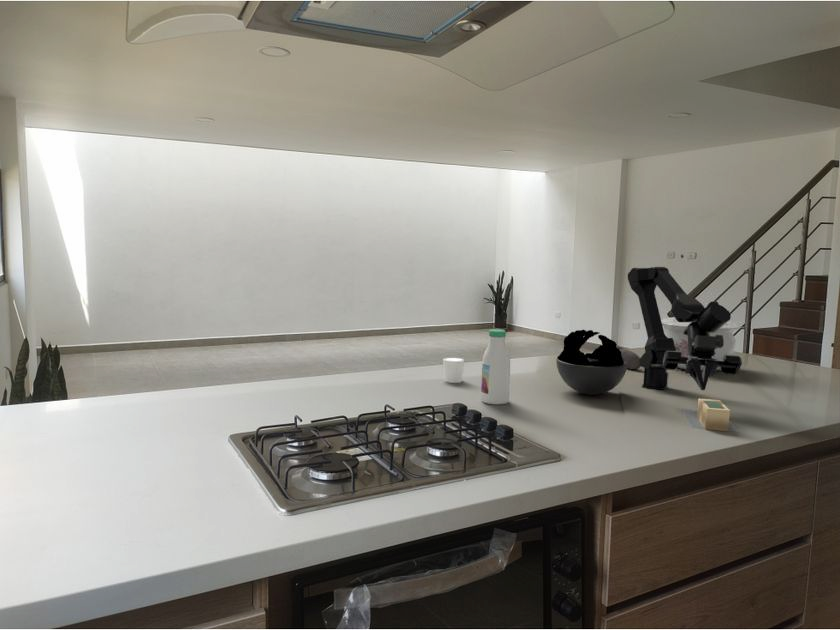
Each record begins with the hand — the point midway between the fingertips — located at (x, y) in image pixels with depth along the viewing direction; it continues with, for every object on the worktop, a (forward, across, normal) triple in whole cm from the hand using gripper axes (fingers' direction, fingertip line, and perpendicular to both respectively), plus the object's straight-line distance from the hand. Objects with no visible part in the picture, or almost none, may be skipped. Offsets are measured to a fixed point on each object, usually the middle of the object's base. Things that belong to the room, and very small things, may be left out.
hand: (703, 389), depth 153 cm
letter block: (+7, 0, -2) cm, 7 cm away
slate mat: (+10, 0, 0) cm, 10 cm away
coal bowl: (-3, -28, +13) cm, 31 cm away
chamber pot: (-41, +9, +52) cm, 67 cm away
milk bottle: (+10, -54, 0) cm, 54 cm away
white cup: (-4, -70, +15) cm, 72 cm away
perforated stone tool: (-34, -16, +46) cm, 59 cm away
